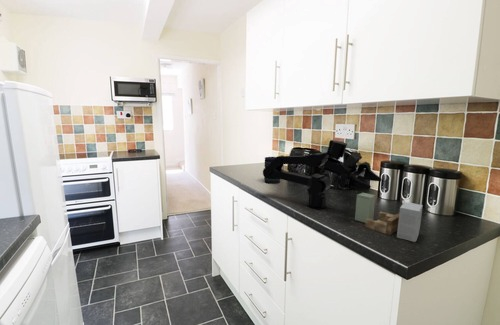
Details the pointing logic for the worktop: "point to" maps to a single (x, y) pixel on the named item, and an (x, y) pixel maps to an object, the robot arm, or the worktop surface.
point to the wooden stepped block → (384, 223)
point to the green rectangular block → (364, 207)
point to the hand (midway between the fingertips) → (376, 183)
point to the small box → (409, 221)
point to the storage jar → (267, 162)
